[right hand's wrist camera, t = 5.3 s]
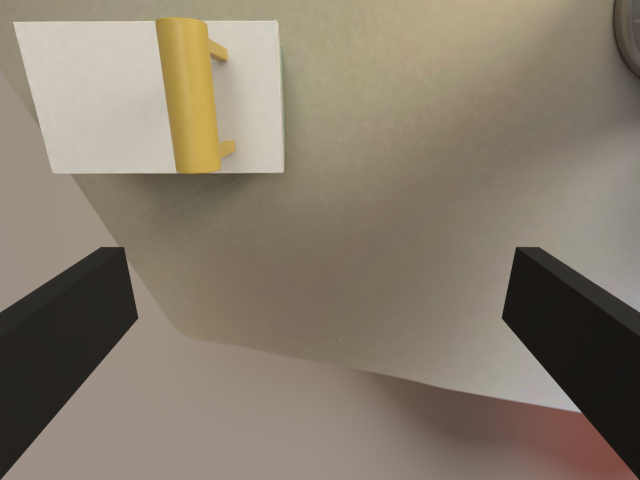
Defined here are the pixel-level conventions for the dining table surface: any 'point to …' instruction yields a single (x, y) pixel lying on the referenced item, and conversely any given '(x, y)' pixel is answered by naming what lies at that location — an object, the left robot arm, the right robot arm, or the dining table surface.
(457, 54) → the dining table surface
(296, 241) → the dining table surface
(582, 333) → the right robot arm
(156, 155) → the lid
